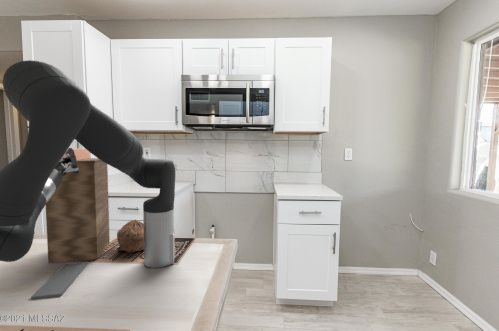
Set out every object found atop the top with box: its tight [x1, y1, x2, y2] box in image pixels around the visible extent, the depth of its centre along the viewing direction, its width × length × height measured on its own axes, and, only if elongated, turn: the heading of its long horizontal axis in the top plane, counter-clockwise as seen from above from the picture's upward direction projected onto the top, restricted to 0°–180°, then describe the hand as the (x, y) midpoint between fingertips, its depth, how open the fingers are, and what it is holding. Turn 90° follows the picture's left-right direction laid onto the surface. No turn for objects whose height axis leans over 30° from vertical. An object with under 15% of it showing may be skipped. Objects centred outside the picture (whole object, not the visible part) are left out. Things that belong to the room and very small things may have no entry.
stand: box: [45, 157, 111, 264], centre depth 89 cm, size 15×15×32 cm
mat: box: [30, 261, 89, 300], centre depth 73 cm, size 6×18×1 cm, turn 13°
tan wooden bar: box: [63, 148, 92, 160], centre depth 83 cm, size 4×22×4 cm, turn 14°
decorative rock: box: [116, 219, 144, 254], centre depth 94 cm, size 13×11×10 cm
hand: (63, 150), depth 78 cm, fingers closed on tan wooden bar, 3 cm apart
